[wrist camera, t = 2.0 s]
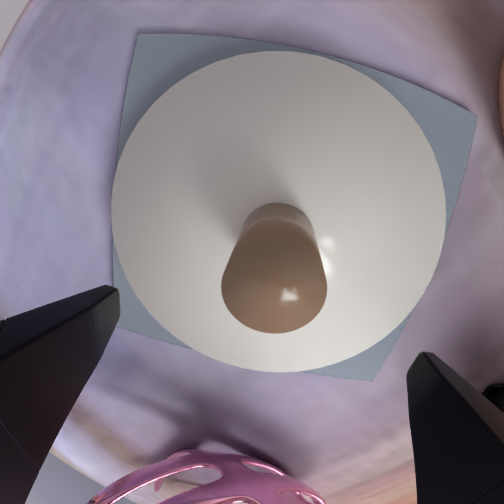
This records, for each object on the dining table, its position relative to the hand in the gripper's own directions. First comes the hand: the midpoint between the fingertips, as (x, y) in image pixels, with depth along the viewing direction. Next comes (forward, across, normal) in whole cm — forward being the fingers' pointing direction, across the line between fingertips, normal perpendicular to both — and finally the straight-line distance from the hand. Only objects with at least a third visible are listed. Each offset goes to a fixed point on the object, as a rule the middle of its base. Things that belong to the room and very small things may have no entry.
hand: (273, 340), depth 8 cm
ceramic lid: (+9, 0, 0) cm, 9 cm away
